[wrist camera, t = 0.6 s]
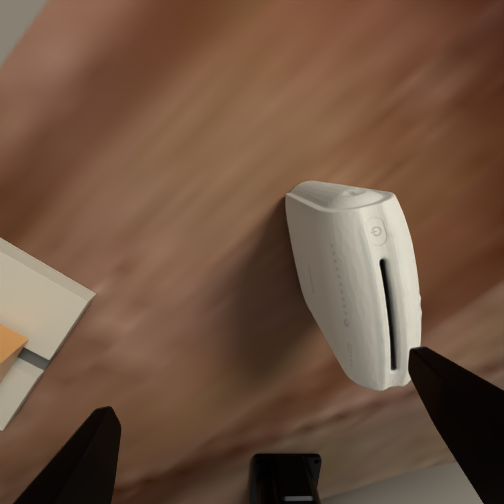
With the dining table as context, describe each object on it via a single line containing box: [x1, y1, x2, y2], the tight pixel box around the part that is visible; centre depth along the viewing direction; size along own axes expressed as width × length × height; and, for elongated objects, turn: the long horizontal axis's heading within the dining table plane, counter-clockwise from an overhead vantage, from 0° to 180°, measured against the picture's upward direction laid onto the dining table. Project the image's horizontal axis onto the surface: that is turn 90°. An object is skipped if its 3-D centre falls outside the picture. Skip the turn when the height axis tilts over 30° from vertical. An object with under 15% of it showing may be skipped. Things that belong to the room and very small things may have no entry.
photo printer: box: [285, 181, 422, 391], centre depth 19 cm, size 10×4×12 cm, turn 13°
